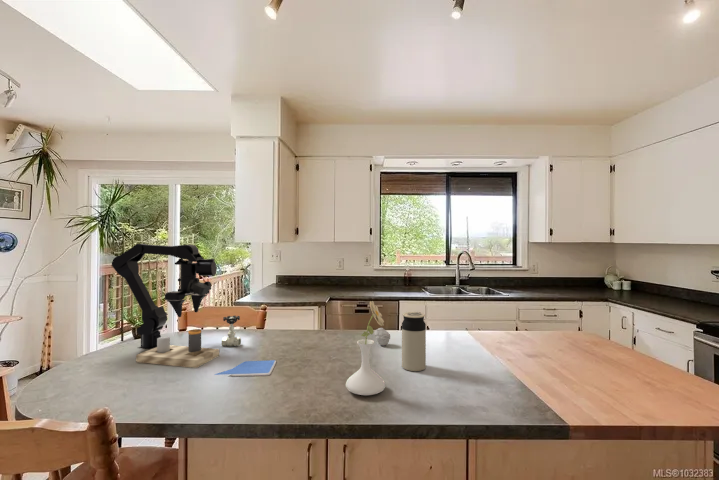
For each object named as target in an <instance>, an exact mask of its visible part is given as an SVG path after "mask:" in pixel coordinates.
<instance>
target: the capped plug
mask: <svg viewBox="0 0 719 480" xmlns="http://www.w3.org/2000/svg"><path fill="white" fill-rule="evenodd" d="M187 343H188V346H187V347H188V351H189V352H197V351H200V350H201V348H202V329H200V328H198V329H197V328H193V329H190V330H188V342H187Z"/></svg>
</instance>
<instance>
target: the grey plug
mask: <svg viewBox="0 0 719 480" xmlns="http://www.w3.org/2000/svg"><path fill="white" fill-rule="evenodd" d="M170 345H171V337H170V336H161V337H160V338H157V353H166V352H168V351H170Z"/></svg>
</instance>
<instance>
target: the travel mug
mask: <svg viewBox="0 0 719 480" xmlns="http://www.w3.org/2000/svg"><path fill="white" fill-rule="evenodd" d="M402 316H403V320H402V322H401V367H402V369H404V370H406V371H408V372H421V371H424V370H425V369H426V368H427V367H426V364H427V363H426V362H427V360H426V359H427V357H426V356H427V353H426V352H427V351H426V350H427V348H426V346H427V344H426V341H427V340H426V339H427V336H426V335H427V333H426V332H427V329H426V326H427V325H426V322H425V316H426V314H424V313H423V312H418V311H406V312H404V313H402Z"/></svg>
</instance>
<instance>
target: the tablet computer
mask: <svg viewBox="0 0 719 480" xmlns="http://www.w3.org/2000/svg"><path fill="white" fill-rule="evenodd" d="M276 364H277V360H275V359H271V360H270V359H269V360H245V361H243V362H241V363H240V364H238V365H236V366H234V367H232V368H230V369H227V370H224V371H221V372H218V373H215V374H214V376H215V375H218V376H220V375H222V376H223V375H224V376H225V375H228V376H227V377H228V378H229V377H255V376H256V377H257V376H258V377H259V376H261V377H262V376H265V377H266V376H270V375H272V372H273V370H274V368H275V366H276Z"/></svg>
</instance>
